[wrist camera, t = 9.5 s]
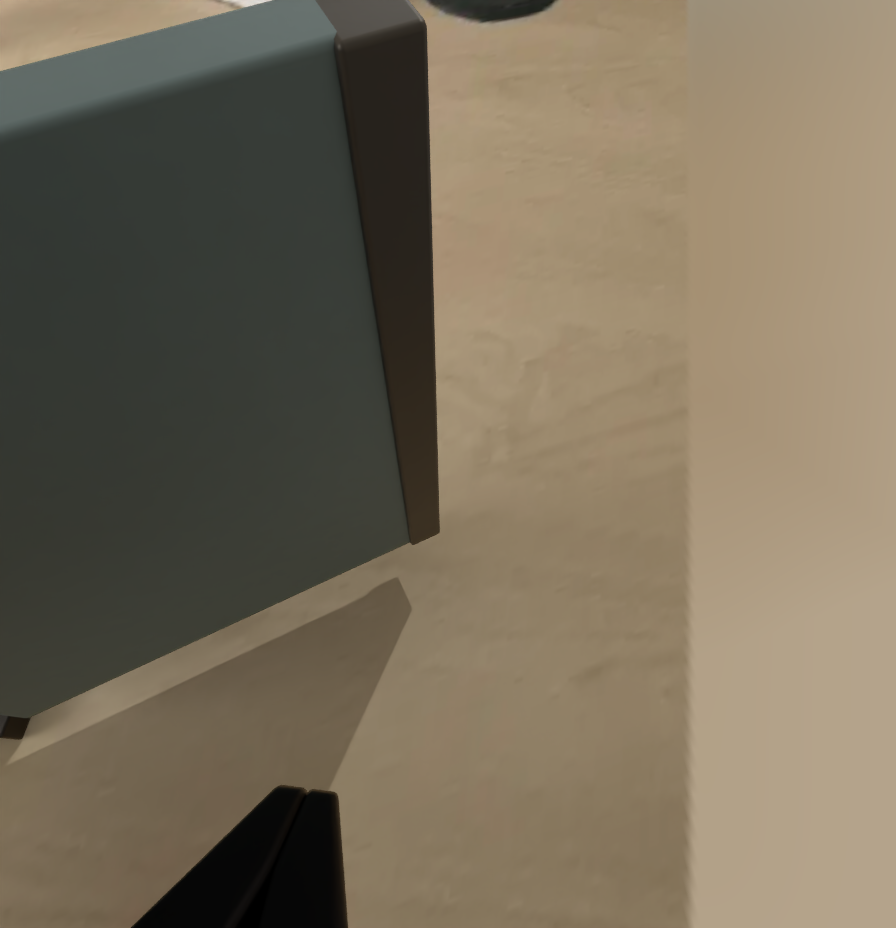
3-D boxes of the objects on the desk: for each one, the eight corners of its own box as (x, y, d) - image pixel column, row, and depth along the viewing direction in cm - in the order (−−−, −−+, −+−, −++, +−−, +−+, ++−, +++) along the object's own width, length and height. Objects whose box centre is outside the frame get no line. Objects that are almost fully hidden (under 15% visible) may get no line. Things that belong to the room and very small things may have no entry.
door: (440, 533, 16) (430, 19, 5) (27, 724, 14) (-1443, 548, 3) (423, 500, 16) (380, -40, 5) (20, 681, 14) (-1310, 391, 3)
